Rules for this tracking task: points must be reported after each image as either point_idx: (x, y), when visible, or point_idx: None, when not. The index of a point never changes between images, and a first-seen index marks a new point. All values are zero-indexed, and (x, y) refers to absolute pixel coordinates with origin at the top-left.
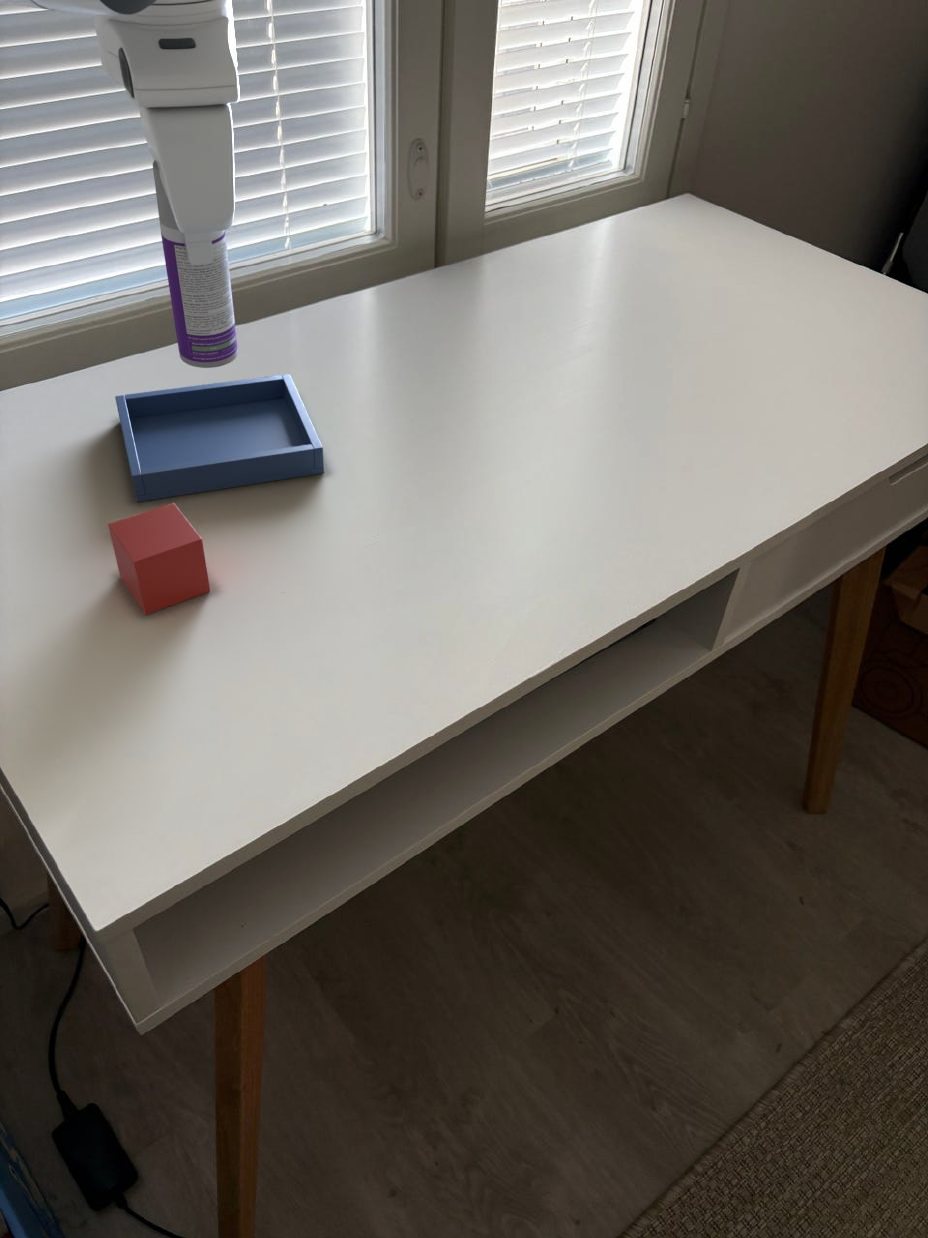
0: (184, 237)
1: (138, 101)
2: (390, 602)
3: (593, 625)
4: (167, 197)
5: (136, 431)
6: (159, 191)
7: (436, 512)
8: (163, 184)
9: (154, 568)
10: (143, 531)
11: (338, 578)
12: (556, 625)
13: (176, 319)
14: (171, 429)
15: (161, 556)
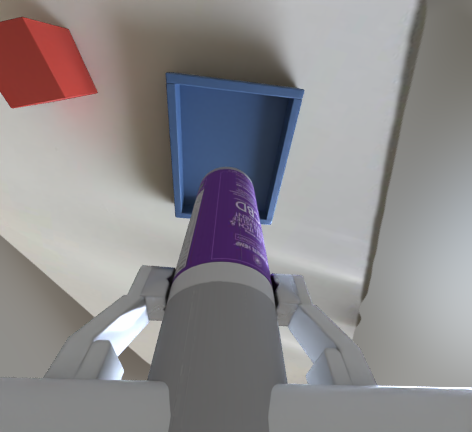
0: (140, 297)
1: None
2: (51, 200)
3: (41, 266)
4: (2, 409)
5: (267, 98)
6: (191, 359)
7: (131, 243)
8: (72, 428)
9: None
10: (13, 55)
11: (72, 183)
12: (39, 255)
13: (216, 187)
14: (258, 128)
15: None
